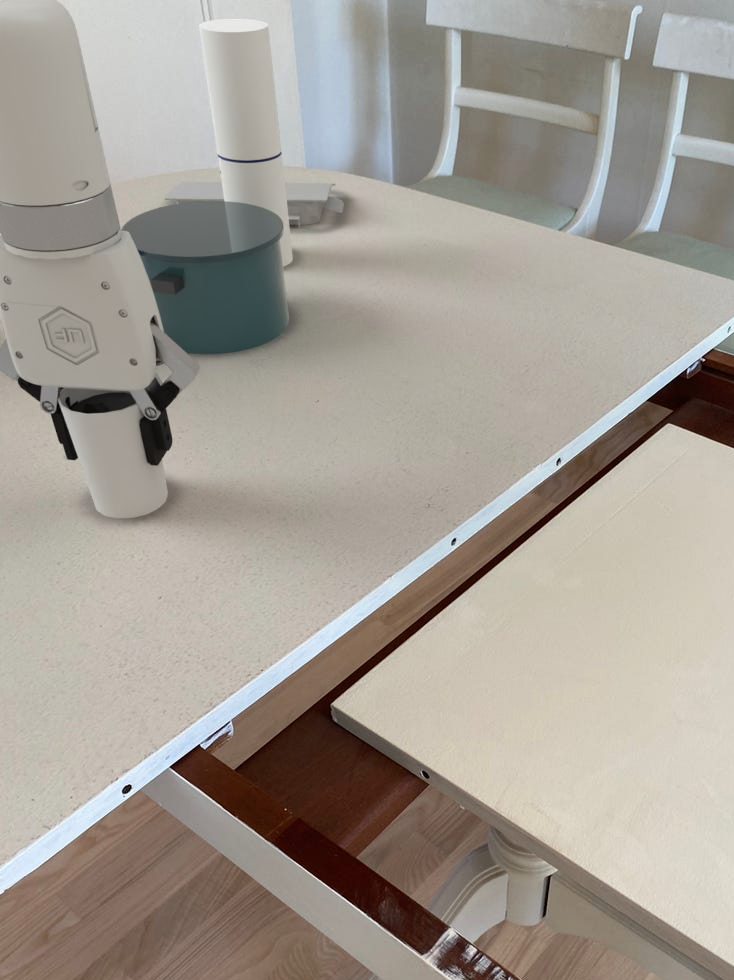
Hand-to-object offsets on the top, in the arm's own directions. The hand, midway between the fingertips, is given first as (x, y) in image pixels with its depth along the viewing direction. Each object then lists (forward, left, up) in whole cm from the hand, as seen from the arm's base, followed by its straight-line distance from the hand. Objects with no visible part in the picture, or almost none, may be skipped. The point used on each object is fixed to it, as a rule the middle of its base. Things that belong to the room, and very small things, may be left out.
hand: (119, 451), depth 77 cm
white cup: (0, 0, -5) cm, 5 cm away
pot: (-19, +28, -5) cm, 34 cm away
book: (-41, +56, -5) cm, 70 cm away
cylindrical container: (-28, +44, -5) cm, 52 cm away
